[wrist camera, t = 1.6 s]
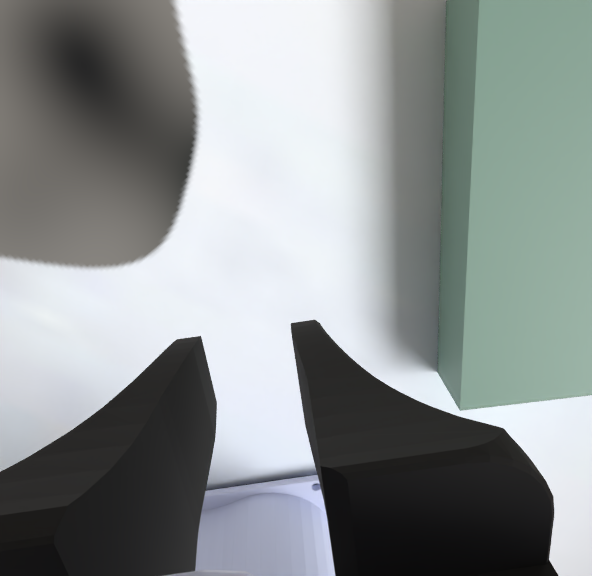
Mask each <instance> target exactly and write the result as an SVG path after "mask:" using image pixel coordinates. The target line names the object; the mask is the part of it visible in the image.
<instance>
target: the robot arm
mask: <svg viewBox="0 0 592 576" xmlns="http://www.w3.org/2000/svg"><path fill="white" fill-rule="evenodd" d="M291 332H292V339H293V346H294V353H295V359H296V366H297V373H298V379H299V386H300V392H301V399H302V406H303V412H304V419H305V425H306V429H307V434H308V438H309V442H310V446H311V450H312V454H313V458H314V463H315V467H316V471H317V475H312V476H305V477H298V478H291V479H284V480H277V481H270V482H263V483H256V484H249V485H242V486H235V487H228V488H221V489H215V490H208V491H206V485H207V480H208V475H209V470H210V464H211V459H212V453H213V448H214V442H215V433H216V410H217V402H216V398H215V393H214V389H213V385H212V381H211V377H210V372H209V368H208V364H207V360H206V355H205V351H204V347H203V343H202V339H201V336H198V337H191V338H184V339H177V340H176V341H174V342H173V343H172V344H171V345H170V346H169V347H168V348H167V349H166V350H165V351H164V352H163V353H162V354H161V355H160V356H159V357H158V358H157V359H156V360H155V361H154V362H153V363H152V364H150V365H149V366H148V367H147V368H146V369H145V370H144V371H143V372H142V373H141V374H140V375H139V376H138V377H137V378H136V379H135V380H134V381H133V382H132V383H130V384H129V385H128V386H127V387H126V388H125V389H124V390H122V391H121V392H120V393H119V394H118V395H117V396H116V397H114V398H113V399H112V400H111V401H110V402H109V403H108V404H106V405H105V406H104V407H103V408H101V409H100V410H99V411H97V412H96V413H95V414H94V415H92V416H91V417H90V418H88V419H87V420H85V421H84V422H83V423H81V424H80V425H78V426H77V427H76V428H74V429H73V430H71V431H70V432H68V433H67V434H65V435H64V436H62V437H60V438H59V439H57V440H55V441H54V442H52V443H51V444H49V445H47V446H46V447H44V448H42V449H41V450H39V451H37V452H36V453H34V454H33V455H31V456H29V457H27V458H26V459H24V460H22V461H20V462H18V463H16V464H15V465H13V466H11V467H9V468H7V469H5V470H3V471H1V472H0V576H558V574H557V573H556V571H555V569H554V568H553V566H552V564H551V563H550V561H549V553H550V545H551V536H552V528H553V520H554V502H553V495H552V493H551V491H550V489H549V487H548V485H547V482H546V481H545V479H544V478H543V476H542V475H541V473H540V472H539V471H538V469H537V468H536V466H535V465H534V463H533V462H532V461H531V460H530V458H529V457H528V456H527V455H526V453H525V452H524V451H523V450H522V449H521V447H520V446H519V445H518V444H517V443H516V442H515V441H514V440H513V439H512V438H511V437H510V436H509V434H508V433H507V432H506V431H505V430H504V429H503V428H500V427H496V426H493V425H489V424H485V423H481V422H477V421H473V420H470V419H466V418H462V417H459V416H456V415H453V414H450V413H447V412H444V411H442V410H439V409H436V408H433V407H431V406H429V405H426V404H424V403H421V402H419V401H417V400H415V399H413V398H411V397H409V396H407V395H405V394H403V393H400V392H399V391H397V390H395V389H393V388H391V387H390V386H388V385H386V384H385V383H383V382H382V381H380V380H378V379H377V378H375V377H374V376H372V375H371V374H370V373H368V372H367V371H366V370H365V369H363V368H362V367H361V366H360V365H358V364H357V363H356V362H355V361H354V360H353V359H352V358H350V357H349V356H348V355H347V354H346V353H345V352H344V351H343V350H342V349H341V348H340V347H339V346H338V345H337V344H336V343H335V342H334V341H333V340H332V339H331V337H330V336H329V335H328V334H327V333H326V331H325V330H324V329H323V328H322V326H321V325H320V323H319V322H317V321H316V320H310V321H303V322H296V323H291ZM315 483H318V485H313V484H315Z"/></svg>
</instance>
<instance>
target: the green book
mask: <svg viewBox="0 0 592 576" xmlns="http://www.w3.org/2000/svg"><path fill="white" fill-rule="evenodd" d="M438 374H439V376H440V377H441V379H442V381H443V382H444V384H445V386H446V387H447V389H448V391H449V393H450V394H451V396H452V398H453V399H454V401H455V403H456V405H457V406H458V408H459V410H469V409H477V408H486V407H494V406H503V405H511V404H520V403H528V402H537V401H546V400H554V399H563V398H571V397H580V396H588V395H592V0H448V1H446V32H445V74H444V117H443V159H442V202H441V244H440V287H439V329H438Z"/></svg>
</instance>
